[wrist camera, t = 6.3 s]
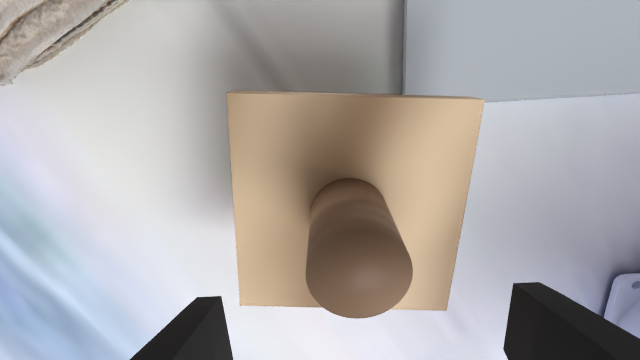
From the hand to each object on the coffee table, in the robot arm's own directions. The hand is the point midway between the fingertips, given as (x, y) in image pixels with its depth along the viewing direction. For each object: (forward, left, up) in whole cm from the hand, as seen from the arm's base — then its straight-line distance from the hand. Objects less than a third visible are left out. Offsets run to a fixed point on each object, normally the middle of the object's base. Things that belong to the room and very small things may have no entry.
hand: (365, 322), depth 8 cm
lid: (0, -1, -6) cm, 6 cm away
